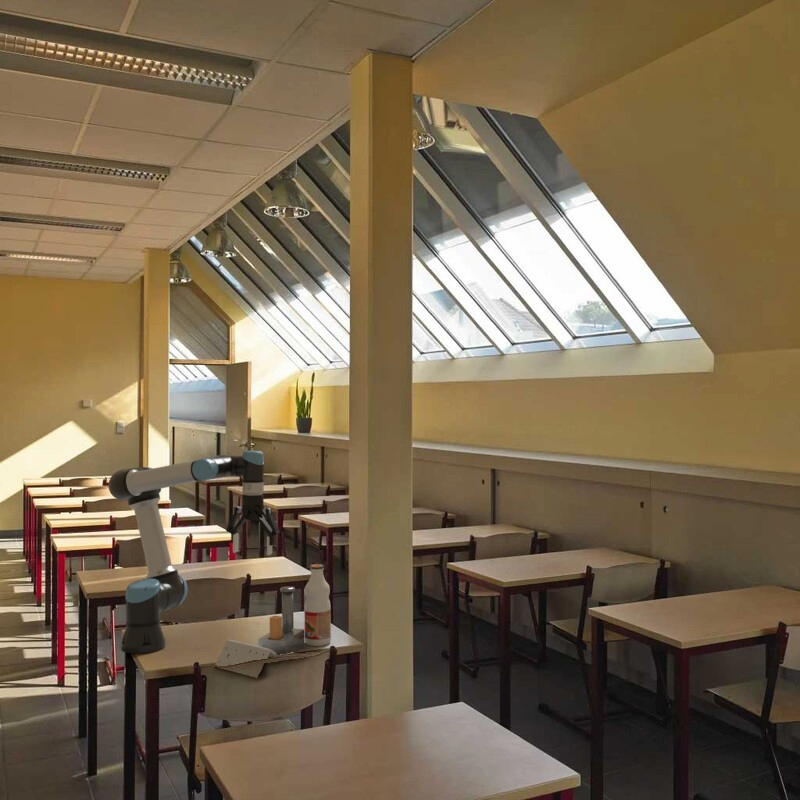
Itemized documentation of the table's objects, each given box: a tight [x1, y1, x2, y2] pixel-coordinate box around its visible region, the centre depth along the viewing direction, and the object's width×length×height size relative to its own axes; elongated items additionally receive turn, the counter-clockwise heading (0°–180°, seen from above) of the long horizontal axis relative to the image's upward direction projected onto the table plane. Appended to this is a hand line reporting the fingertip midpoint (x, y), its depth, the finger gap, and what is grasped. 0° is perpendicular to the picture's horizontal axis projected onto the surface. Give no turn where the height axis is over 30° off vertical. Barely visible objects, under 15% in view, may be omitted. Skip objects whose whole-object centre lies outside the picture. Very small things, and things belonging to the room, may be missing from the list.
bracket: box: [214, 639, 277, 666], centre depth 271 cm, size 13×10×20 cm
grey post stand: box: [257, 586, 306, 655], centre depth 288 cm, size 10×16×21 cm, turn 162°
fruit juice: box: [303, 563, 332, 647], centre depth 298 cm, size 9×9×28 cm
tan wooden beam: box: [269, 615, 282, 640], centre depth 284 cm, size 3×3×13 cm
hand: (252, 553), depth 295 cm, fingers open, 13 cm apart
